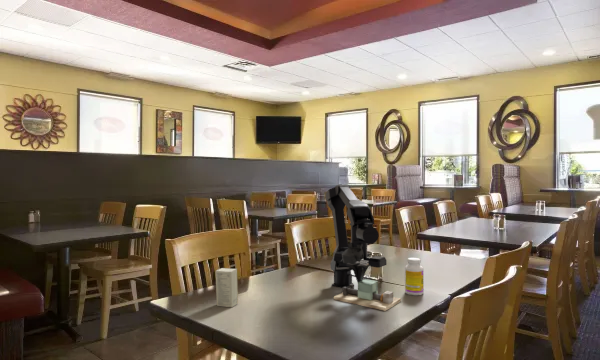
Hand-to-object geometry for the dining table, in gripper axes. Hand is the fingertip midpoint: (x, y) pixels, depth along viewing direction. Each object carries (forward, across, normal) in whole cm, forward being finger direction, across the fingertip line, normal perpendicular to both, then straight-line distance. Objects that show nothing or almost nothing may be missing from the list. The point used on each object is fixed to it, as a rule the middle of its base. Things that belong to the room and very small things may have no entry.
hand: (359, 283), depth 140 cm
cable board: (+6, +3, 0) cm, 6 cm away
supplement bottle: (+6, +13, +18) cm, 23 cm away
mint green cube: (+4, +3, 0) cm, 5 cm away
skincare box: (+6, -33, -33) cm, 47 cm away
